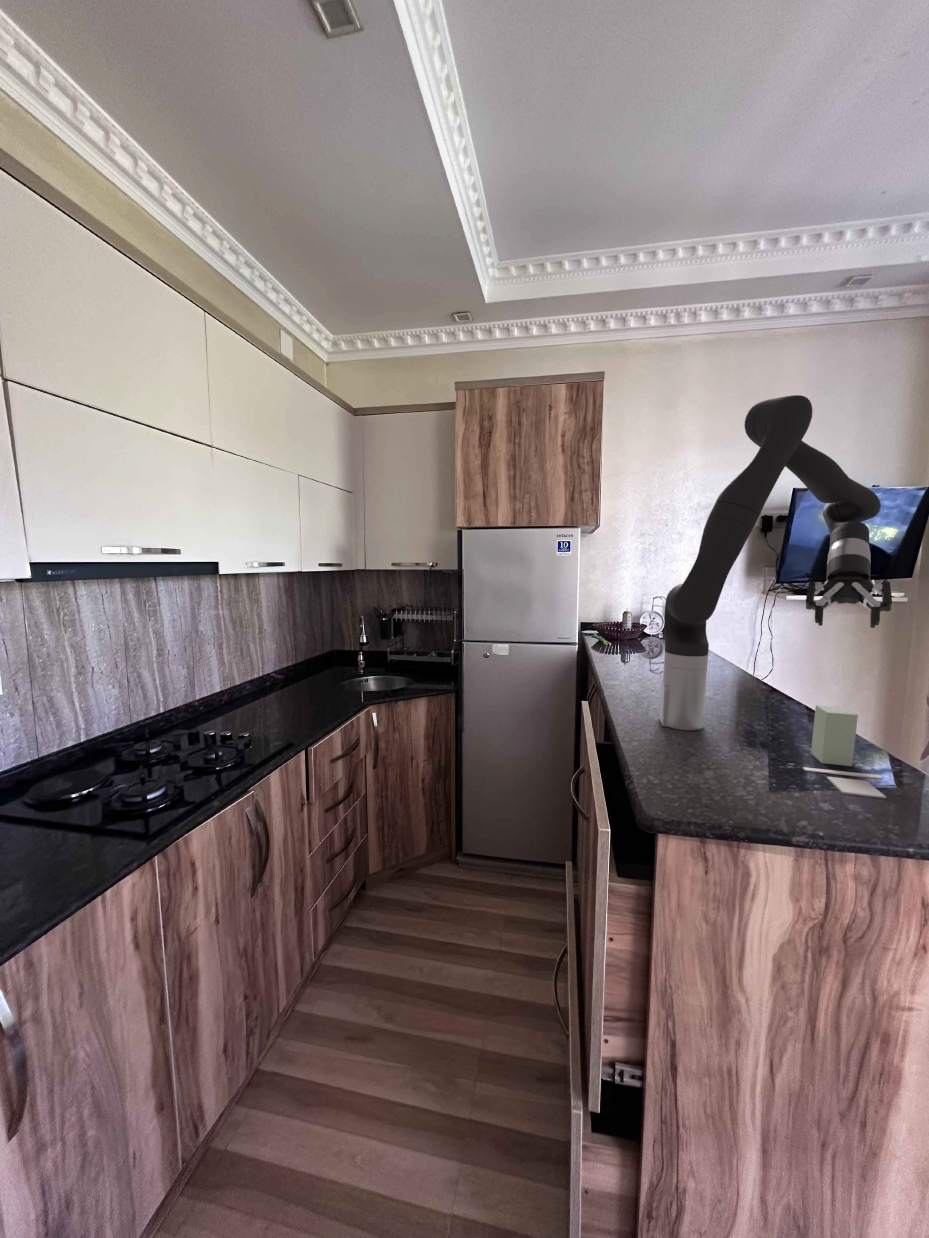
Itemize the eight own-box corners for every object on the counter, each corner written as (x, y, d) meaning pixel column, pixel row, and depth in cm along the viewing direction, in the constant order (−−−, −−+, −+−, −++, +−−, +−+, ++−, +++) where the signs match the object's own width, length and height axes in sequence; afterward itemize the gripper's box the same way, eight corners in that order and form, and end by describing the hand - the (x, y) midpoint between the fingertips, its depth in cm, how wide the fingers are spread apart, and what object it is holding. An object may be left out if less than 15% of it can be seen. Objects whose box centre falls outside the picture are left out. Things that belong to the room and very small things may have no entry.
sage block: (821, 762, 94) (826, 712, 92) (810, 753, 98) (815, 704, 97) (852, 766, 92) (857, 714, 91) (839, 756, 97) (845, 707, 96)
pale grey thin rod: (805, 770, 90) (805, 769, 90) (802, 768, 91) (802, 767, 91) (882, 779, 87) (882, 778, 87) (879, 776, 88) (879, 775, 88)
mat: (842, 793, 81) (842, 791, 81) (826, 777, 87) (826, 776, 87) (885, 798, 80) (885, 796, 80) (866, 782, 85) (866, 780, 85)
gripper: (808, 554, 110) (803, 613, 103) (892, 551, 101) (893, 615, 94) (809, 574, 115) (804, 632, 108) (889, 573, 106) (889, 636, 99)
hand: (846, 624), depth 101 cm, fingers open, 8 cm apart
